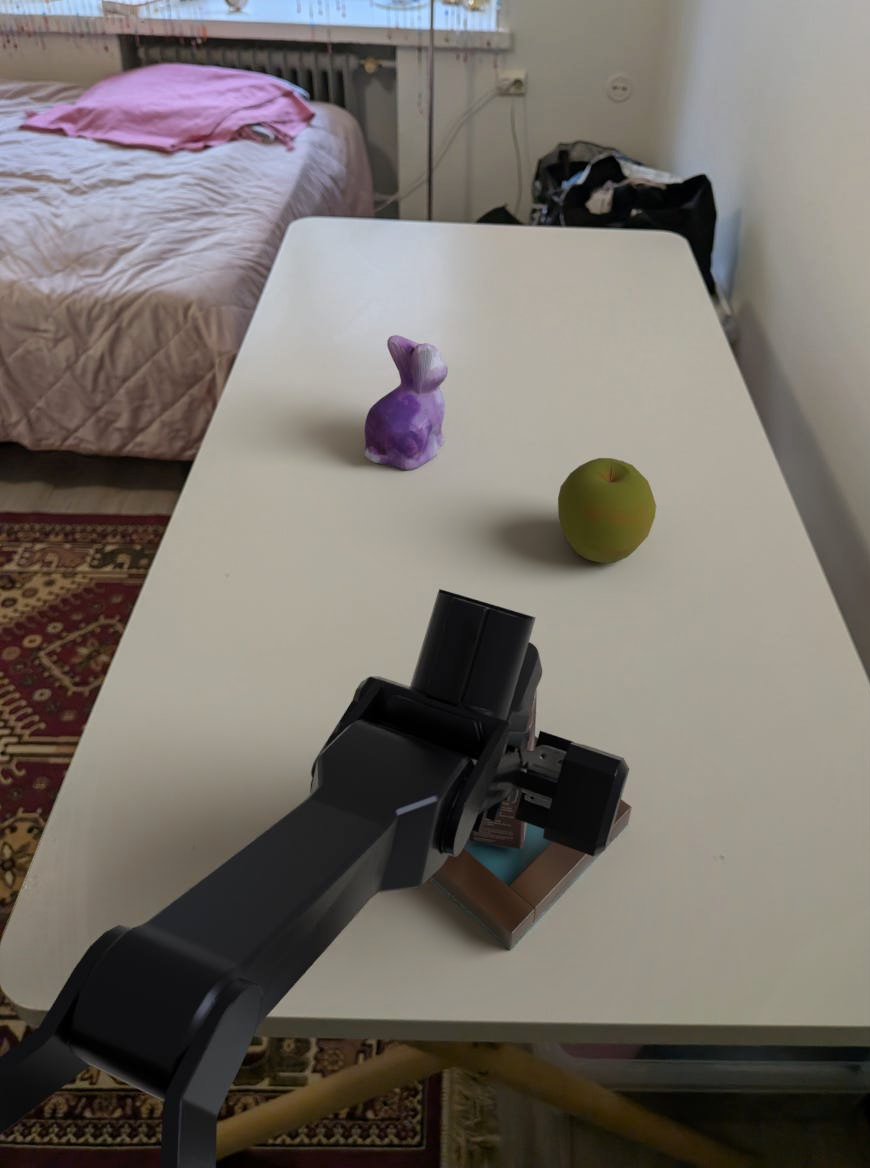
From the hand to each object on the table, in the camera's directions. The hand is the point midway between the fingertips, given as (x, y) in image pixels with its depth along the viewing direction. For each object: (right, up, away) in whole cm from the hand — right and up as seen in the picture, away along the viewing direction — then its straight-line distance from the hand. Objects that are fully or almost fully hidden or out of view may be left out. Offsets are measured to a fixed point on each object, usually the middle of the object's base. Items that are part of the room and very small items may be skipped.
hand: (507, 751), depth 71 cm
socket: (-1, -7, +4) cm, 8 cm away
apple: (+11, +14, +30) cm, 35 cm away
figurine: (-11, +26, +43) cm, 52 cm away
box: (0, -6, +4) cm, 7 cm away
